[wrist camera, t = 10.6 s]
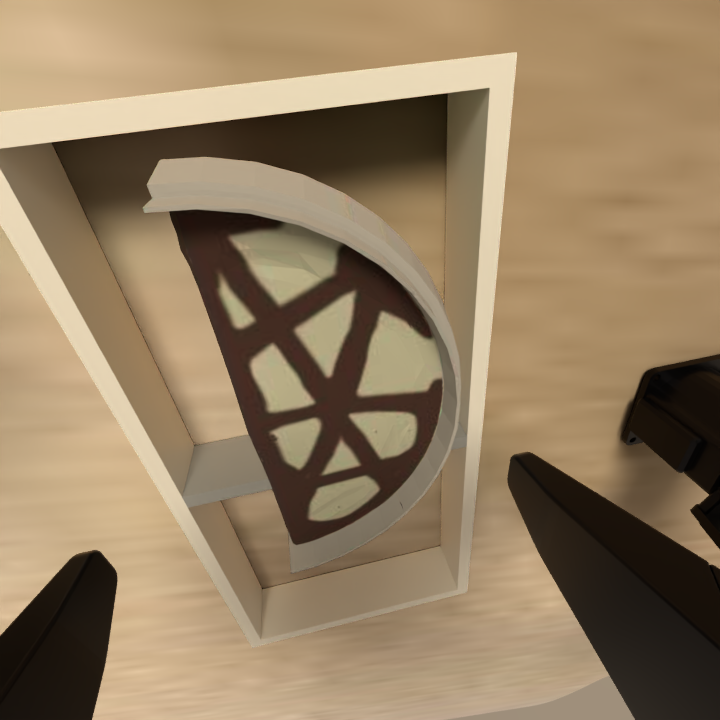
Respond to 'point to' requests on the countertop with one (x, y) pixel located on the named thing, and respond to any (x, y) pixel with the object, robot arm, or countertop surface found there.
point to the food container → (319, 344)
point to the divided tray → (237, 455)
